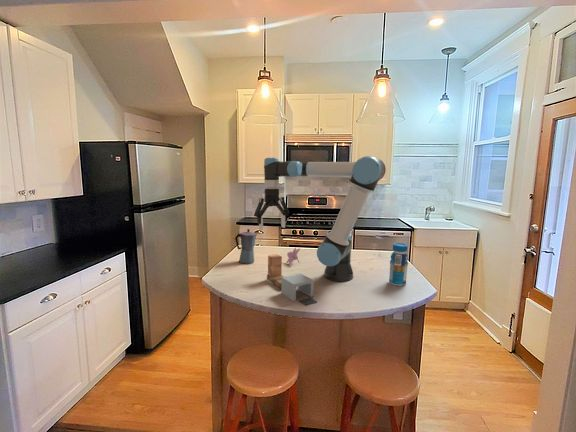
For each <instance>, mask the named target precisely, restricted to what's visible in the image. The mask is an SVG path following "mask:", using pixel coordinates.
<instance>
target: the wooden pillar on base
mask: <svg viewBox="0 0 576 432" xmlns="http://www.w3.org/2000/svg"><path fill="white" fill-rule="evenodd" d="M282 261H283V260H282V256H281V255H280V254H278V253H274V254H269V255H268V256H267V274H266V279H267V280H269V281H270V282H272V283H274V284H273V285H274V286H277V288H280V289H281V286H282V277H285V276H284V275H282ZM267 280H266V281H267ZM270 282H269V283H270Z"/></svg>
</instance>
